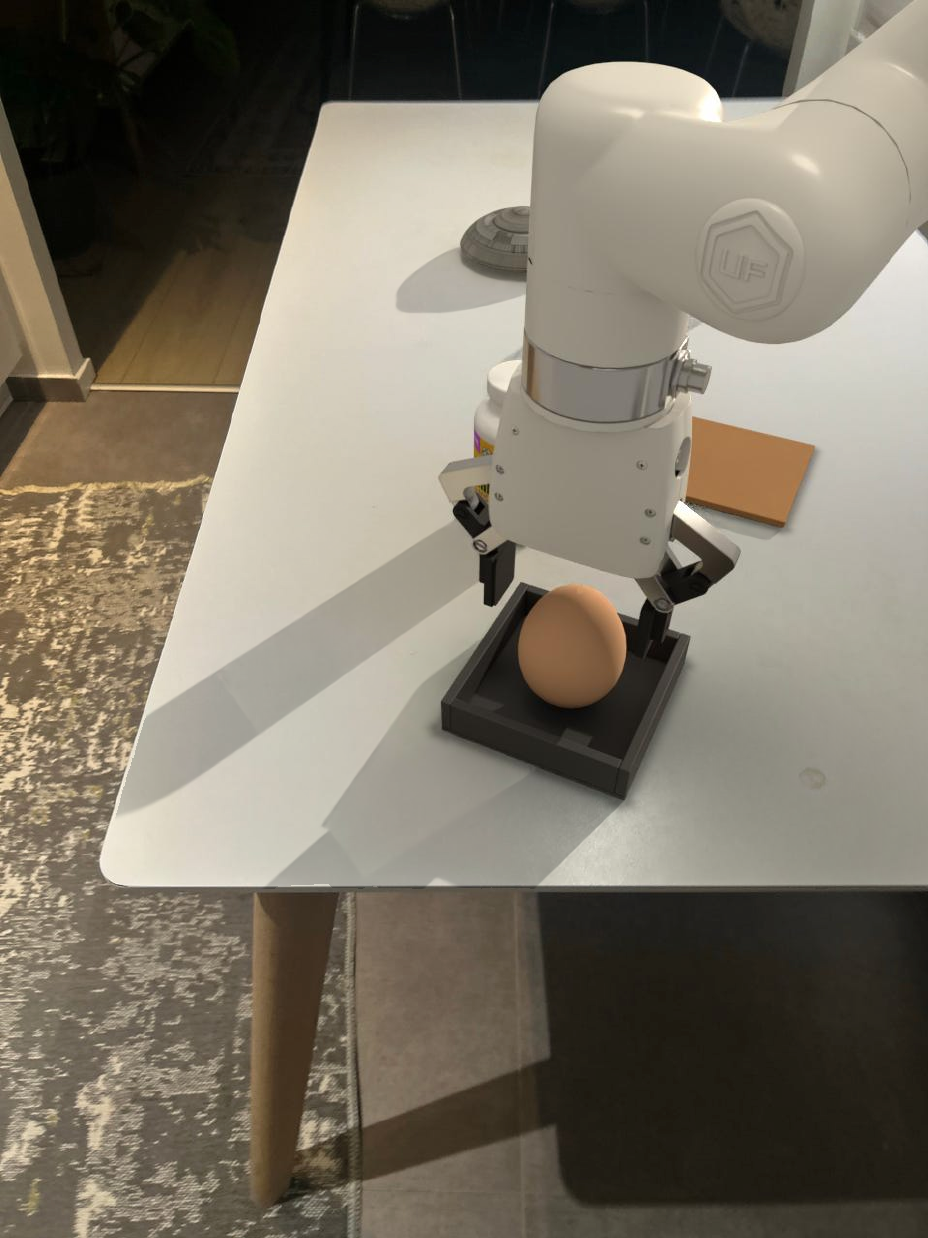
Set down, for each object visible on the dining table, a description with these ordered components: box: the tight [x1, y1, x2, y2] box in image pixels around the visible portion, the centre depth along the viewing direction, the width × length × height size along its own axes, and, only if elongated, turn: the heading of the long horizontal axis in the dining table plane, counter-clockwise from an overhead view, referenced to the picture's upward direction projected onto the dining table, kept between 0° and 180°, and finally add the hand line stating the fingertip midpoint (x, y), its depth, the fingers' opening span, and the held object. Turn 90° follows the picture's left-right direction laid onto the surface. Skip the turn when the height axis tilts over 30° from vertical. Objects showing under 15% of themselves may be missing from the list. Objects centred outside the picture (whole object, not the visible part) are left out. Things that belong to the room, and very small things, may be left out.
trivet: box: [685, 415, 816, 528], centre depth 79 cm, size 12×12×1 cm
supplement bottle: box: [473, 359, 522, 505], centre depth 70 cm, size 7×7×13 cm
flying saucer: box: [459, 205, 530, 273], centre depth 109 cm, size 15×15×6 cm
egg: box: [518, 583, 626, 708], centre depth 58 cm, size 7×7×9 cm
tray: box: [440, 581, 692, 801], centre depth 60 cm, size 12×12×3 cm
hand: (570, 616), depth 56 cm, fingers open, 9 cm apart
